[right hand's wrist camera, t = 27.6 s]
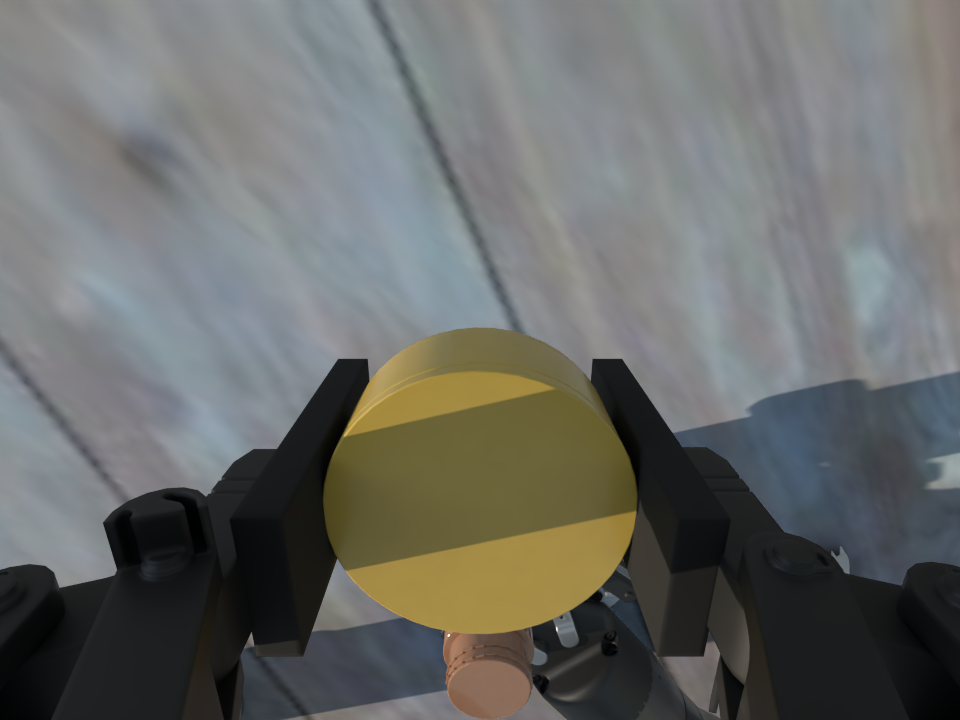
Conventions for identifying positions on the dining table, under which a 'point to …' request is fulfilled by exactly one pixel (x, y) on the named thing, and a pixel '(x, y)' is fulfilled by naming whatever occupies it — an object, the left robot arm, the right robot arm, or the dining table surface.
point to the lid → (480, 485)
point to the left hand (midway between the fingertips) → (461, 537)
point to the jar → (489, 672)
